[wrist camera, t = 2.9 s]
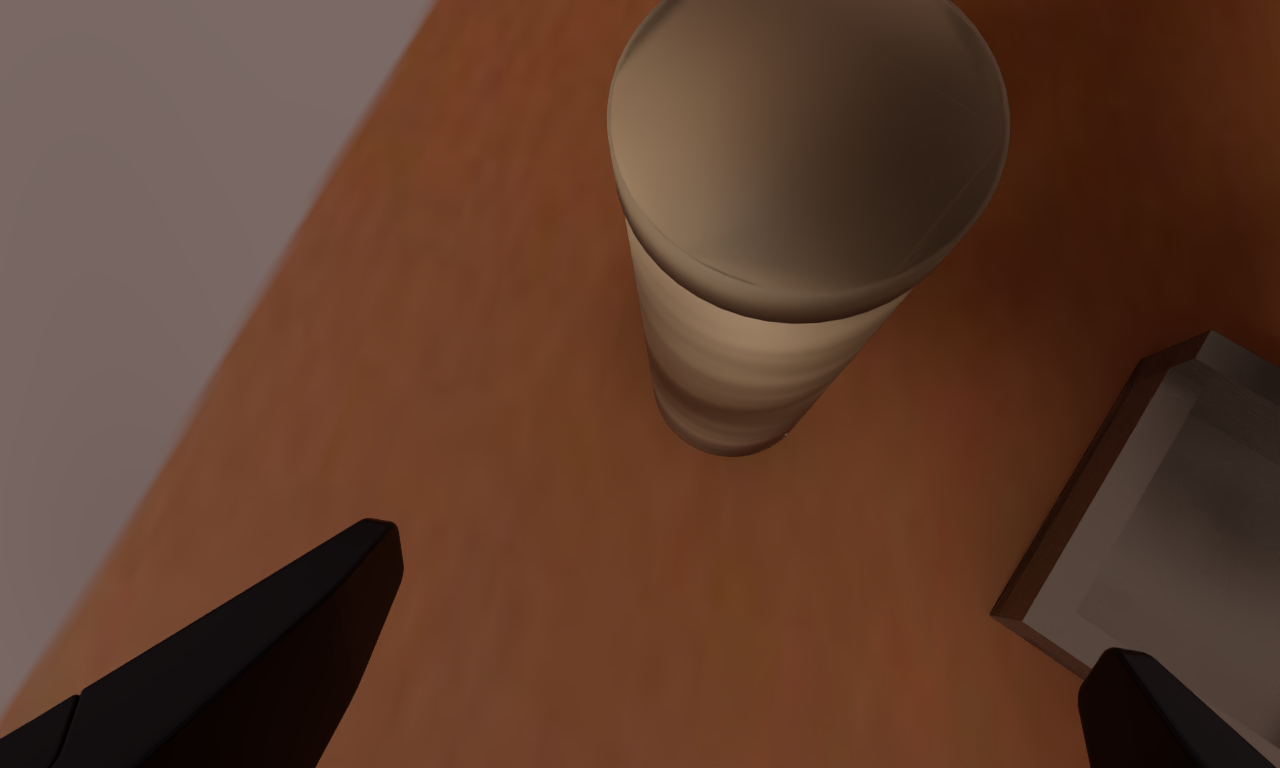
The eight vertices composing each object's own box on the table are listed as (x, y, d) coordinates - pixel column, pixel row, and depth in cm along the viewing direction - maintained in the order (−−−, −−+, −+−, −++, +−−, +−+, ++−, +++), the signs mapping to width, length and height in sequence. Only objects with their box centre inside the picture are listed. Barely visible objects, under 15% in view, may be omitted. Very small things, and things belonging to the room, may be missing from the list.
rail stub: (713, 490, 22) (765, 377, 8) (621, 362, 23) (532, 76, 9) (842, 398, 22) (1099, 145, 8) (746, 278, 23) (836, -112, 10)
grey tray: (1310, 835, 18) (1428, 888, 16) (989, 614, 20) (1041, 624, 17) (1450, 540, 20) (1581, 537, 17) (1141, 359, 22) (1211, 329, 19)
